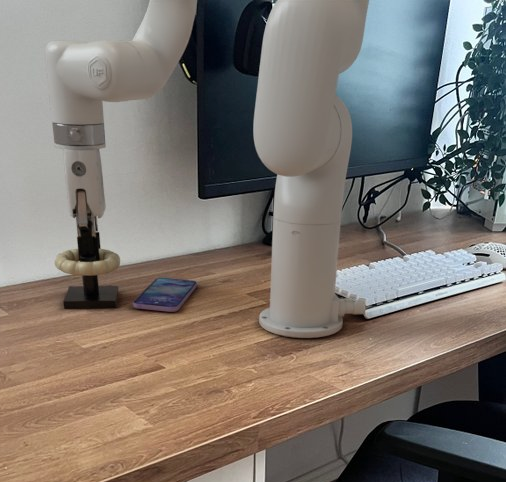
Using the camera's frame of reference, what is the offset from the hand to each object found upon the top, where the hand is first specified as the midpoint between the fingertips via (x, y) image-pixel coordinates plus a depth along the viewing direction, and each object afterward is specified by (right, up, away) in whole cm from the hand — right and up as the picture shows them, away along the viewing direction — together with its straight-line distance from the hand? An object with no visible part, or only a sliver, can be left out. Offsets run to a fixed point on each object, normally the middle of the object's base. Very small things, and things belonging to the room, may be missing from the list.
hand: (90, 258), depth 112 cm
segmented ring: (0, -1, -4) cm, 4 cm away
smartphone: (+12, -6, +2) cm, 14 cm away
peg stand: (0, -7, -1) cm, 7 cm away
